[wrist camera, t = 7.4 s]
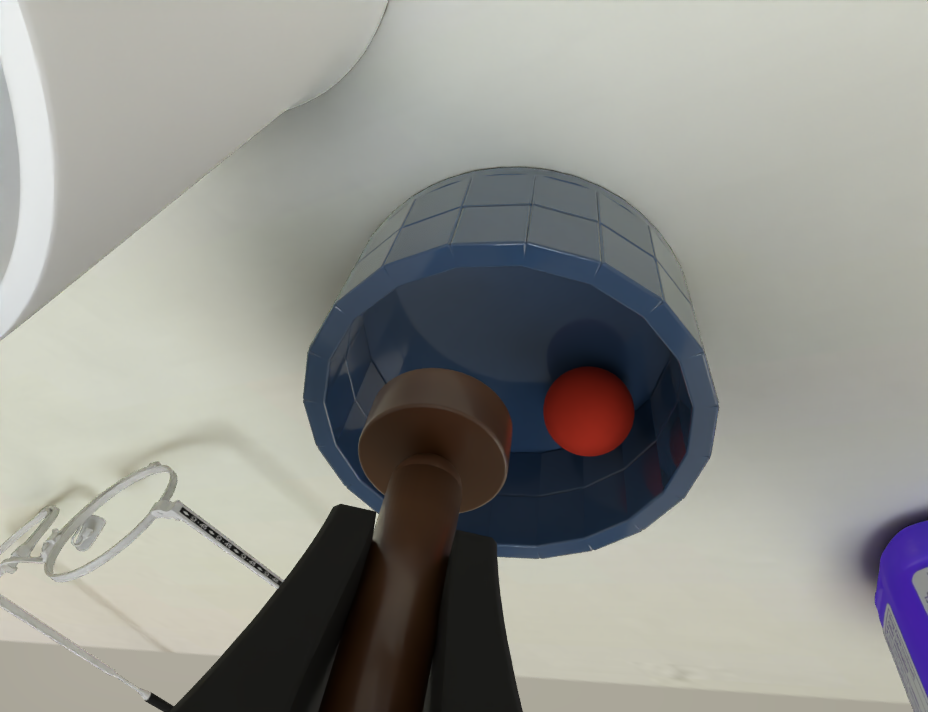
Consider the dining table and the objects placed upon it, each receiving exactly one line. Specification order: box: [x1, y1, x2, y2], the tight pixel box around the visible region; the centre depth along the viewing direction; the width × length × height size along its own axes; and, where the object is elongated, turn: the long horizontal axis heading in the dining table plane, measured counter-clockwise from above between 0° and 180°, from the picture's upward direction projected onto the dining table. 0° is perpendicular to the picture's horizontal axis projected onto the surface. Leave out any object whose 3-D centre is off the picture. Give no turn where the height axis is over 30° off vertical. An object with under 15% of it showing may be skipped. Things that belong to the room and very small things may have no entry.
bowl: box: [303, 167, 719, 559], centre depth 18 cm, size 10×10×4 cm
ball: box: [543, 366, 634, 457], centre depth 19 cm, size 3×3×3 cm
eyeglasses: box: [0, 461, 284, 712], centre depth 28 cm, size 16×19×5 cm
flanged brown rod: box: [318, 368, 512, 712], centre depth 10 cm, size 3×3×9 cm
